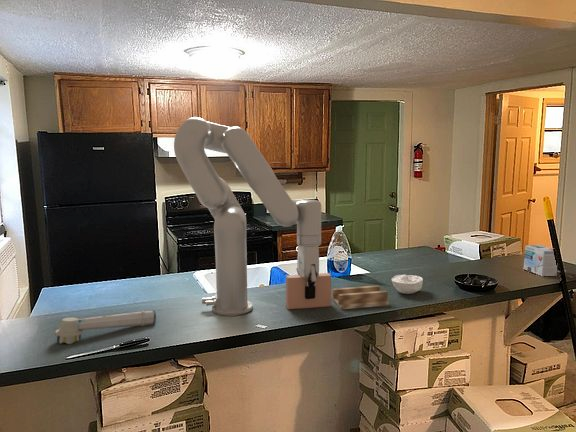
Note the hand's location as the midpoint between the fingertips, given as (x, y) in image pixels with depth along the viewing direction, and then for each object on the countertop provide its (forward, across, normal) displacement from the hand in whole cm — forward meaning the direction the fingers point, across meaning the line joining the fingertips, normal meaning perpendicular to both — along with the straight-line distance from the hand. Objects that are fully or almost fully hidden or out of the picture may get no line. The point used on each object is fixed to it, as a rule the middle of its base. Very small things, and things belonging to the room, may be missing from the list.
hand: (308, 296), depth 137 cm
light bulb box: (+3, -16, +100) cm, 102 cm away
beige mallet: (+4, +8, -58) cm, 59 cm away
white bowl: (+3, -6, +37) cm, 38 cm away
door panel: (+3, 0, 0) cm, 3 cm away
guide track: (+3, 0, +17) cm, 17 cm away
